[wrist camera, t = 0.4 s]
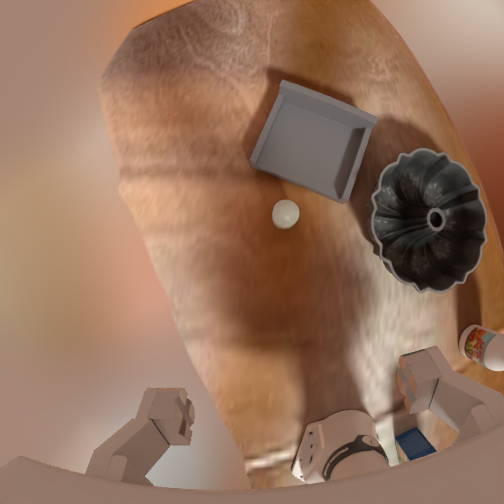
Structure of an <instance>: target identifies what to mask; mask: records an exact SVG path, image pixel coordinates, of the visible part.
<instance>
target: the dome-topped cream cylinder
mask: <svg viewBox="0 0 504 504" xmlns="http://www.w3.org/2000/svg"><path fill="white" fill-rule="evenodd" d="M299 214H300V212H299V208H298V206H297V205H296V203H294V202H293V201H291V200H281V201H279V202H277V203H276V204H275V206H274V208H273V212H272V222H273V224H274V226H275V227H276V228H278V229H280V230H287V229H290V228H291V227H292V226H293V225H294V224H295V223H296V222H297V220H298V218H299Z"/></svg>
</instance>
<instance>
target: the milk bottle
mask: <svg viewBox="0 0 504 504" xmlns="http://www.w3.org/2000/svg"><path fill="white" fill-rule="evenodd" d="M459 349H460V352H461V353H462V354H463V355H464V356H465V357H467V358H469V359H471V360H473V361H475V362H476V363H478V364H480V365H482V366H484V367H486V368H488V369H491V370H494V371H502V370H504V334H501V333H499V332H496V331H493V330H491V329H488V328H485V327H482V326H479V325H471V326H469V327H467V328H466V329H465V330H464V331H463V333H462V335H461V337H460V340H459Z"/></svg>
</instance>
